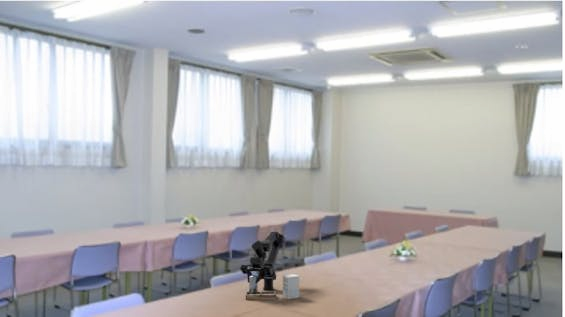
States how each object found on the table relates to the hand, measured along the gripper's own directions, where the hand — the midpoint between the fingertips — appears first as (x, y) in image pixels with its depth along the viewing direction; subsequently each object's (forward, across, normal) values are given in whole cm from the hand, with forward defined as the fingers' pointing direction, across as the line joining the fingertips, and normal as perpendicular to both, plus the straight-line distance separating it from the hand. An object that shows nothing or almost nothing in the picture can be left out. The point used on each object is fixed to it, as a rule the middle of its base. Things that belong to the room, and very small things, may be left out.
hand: (252, 282), depth 293 cm
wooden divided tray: (+4, +4, +8) cm, 10 cm away
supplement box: (-1, +20, +14) cm, 24 cm away
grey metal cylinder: (+4, 0, +6) cm, 7 cm away
